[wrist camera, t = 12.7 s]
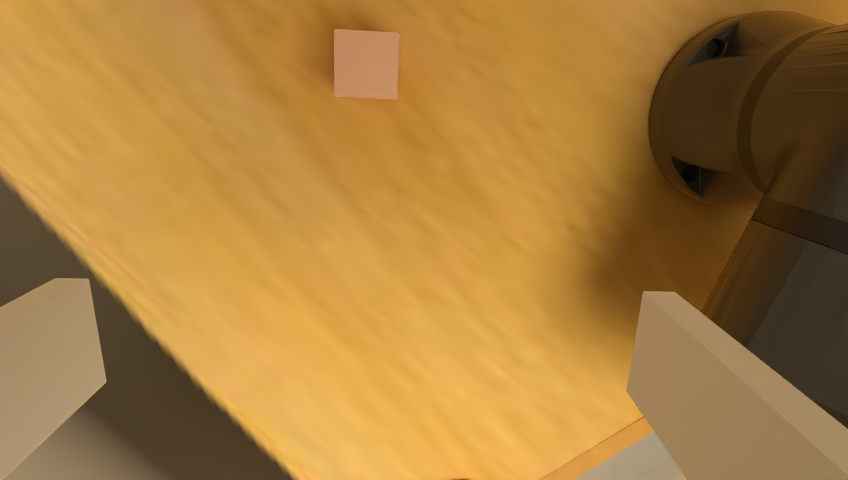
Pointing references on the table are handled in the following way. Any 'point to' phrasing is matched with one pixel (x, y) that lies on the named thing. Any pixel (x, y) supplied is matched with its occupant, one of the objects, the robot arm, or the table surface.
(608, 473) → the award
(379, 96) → the short peg
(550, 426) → the table surface
